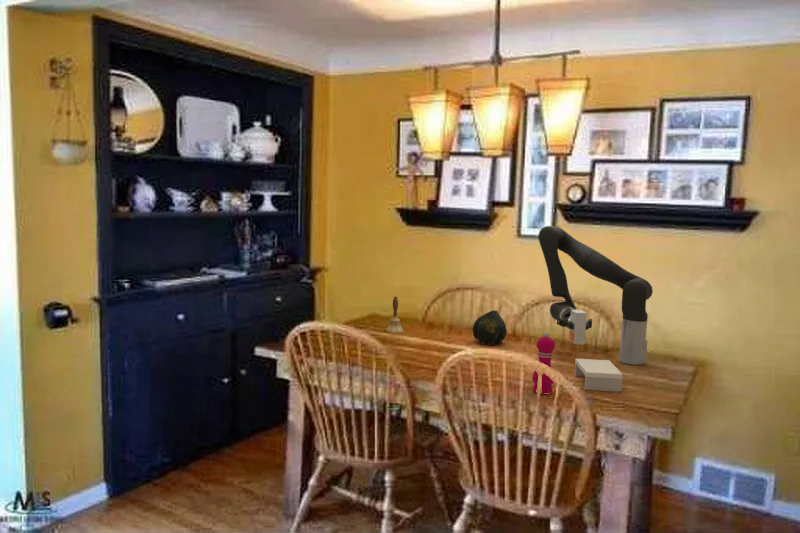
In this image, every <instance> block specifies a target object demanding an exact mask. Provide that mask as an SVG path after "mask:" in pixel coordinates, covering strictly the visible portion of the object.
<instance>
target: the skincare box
mask: <svg viewBox="0 0 800 533" xmlns="http://www.w3.org/2000/svg"><path fill="white" fill-rule="evenodd" d="M587 314H588V313H587V312H586V311H584V310H582V309H576V310H571V317H570V321H571V322H572V323H573V329H569V336H568V338H569V341H570V342H572V343H573V344H574V345H585V344H586V331H587V330H586V321H587V317H588V316H587Z"/></svg>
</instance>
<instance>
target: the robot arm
mask: <svg viewBox="0 0 800 533" xmlns="http://www.w3.org/2000/svg"><path fill="white" fill-rule="evenodd" d="M538 241H539V245H540V248H541V251H542V255H543V258H544V260H545V264H546V268H547V272H548V277H549V285H550V291H551V294H552V296H553V297H556V298H563V299H564V301H560V302H559V301H558V302H554V303H552V304H551V305H550V307H549V313H550V315H551V317H552V319H554V320H555V321H556V325H558V326H560V327H563V328H567V329H569V330H570V329H573V323H572V322H571V321H570V317H571V310H577V308H576V305H575V303H574V301H573V299H572V296H571V294H570V290H569V285H568V284H569V283H568V279H567V275H566V271H565V269H564V268H563V265H562V262H561V260H560V256H559V251H561V252H563V253H564V254H566V255H568V256H569V257H570V258H571V259H572V260H573V261H574V263H576V265H577V266H578V267H580V268H581V269H582V270H583V271H585V272H586V273H588V274H589V275H591V276H593V277H595V278H597V279H600V280H603V281H604V282H605V281H606V282H608V283H611V284H612V285H615V286H617V287H618V288H620V290H622V295H621V313H622V319H621V320H622V321H621V332H620V344H619V345H620V346H619V356H618V357H619V359H618V360H619V362H621V363H623V364H627V365H639V366H640V365H646V359H647V349H648V340H647V339H646V337H647V328H648V318H649V317H648V316H649V314H648V313H647V311H646V307H647V300H649V299H650V298H651V297H652V295H653V292H654V291H653V290H654V289H653V286H652V285H651V283H650V282H649V281H648V280H646V279H644V278H643V277H640V276H638V275H636V274H634V273H632V272H630V271H628V270H627V269H624V268H623V267H622V266H620V265H619V264H618V263H617V262H614V261H613V260H611V259H610V258H608V257H607V256H605V255H604V254H602V253H600V252H599V251H598V250H596V249H594V248H592V247H590V246H588V245H586V244H585V243H583V242H581V241H579V240H578V239H576V238H574V237H573V236H572V235H571V234H569V233H568V232H566V231H565V229H563V228H561V227H560V226H557V225H546V226H543V227H542V228H541V229H540V230H539V232H538ZM592 327H593V319H592V318H588V319H587V320H586V331H588V329H593V328H592Z"/></svg>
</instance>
